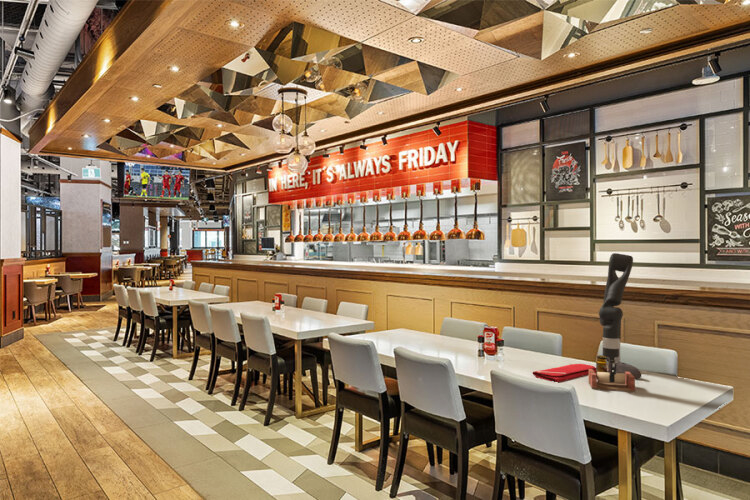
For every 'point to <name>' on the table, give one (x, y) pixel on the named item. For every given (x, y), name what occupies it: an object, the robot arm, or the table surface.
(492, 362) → the table surface
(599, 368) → the condiment
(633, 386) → the end holder
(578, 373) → the dish drying mat
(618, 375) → the tan rounded cylinder
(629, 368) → the perforated stone tool
